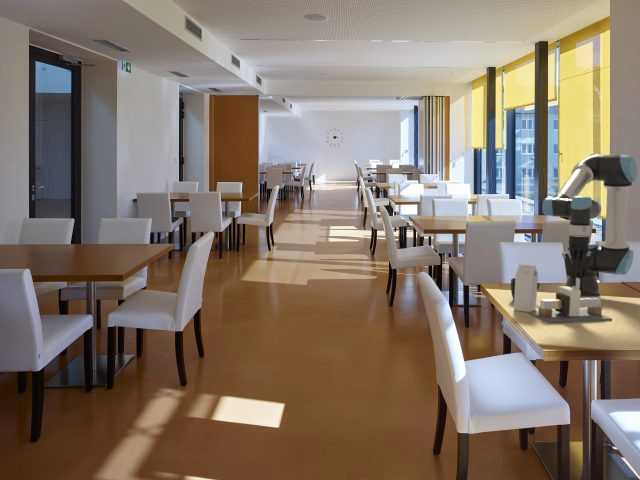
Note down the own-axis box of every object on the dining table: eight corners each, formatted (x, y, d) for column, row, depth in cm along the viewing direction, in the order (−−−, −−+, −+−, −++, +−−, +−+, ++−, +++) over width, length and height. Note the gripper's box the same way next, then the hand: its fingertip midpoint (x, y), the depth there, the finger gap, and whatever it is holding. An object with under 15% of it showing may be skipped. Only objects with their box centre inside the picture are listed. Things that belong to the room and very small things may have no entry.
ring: (558, 310, 278) (559, 292, 277) (568, 314, 271) (569, 296, 270) (555, 310, 277) (556, 292, 276) (565, 314, 270) (566, 296, 270)
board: (587, 310, 286) (587, 309, 286) (612, 320, 270) (612, 318, 270) (528, 313, 280) (529, 311, 280) (550, 323, 265) (550, 321, 264)
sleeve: (566, 310, 280) (567, 286, 278) (579, 316, 271) (580, 290, 270) (557, 311, 279) (558, 286, 277) (569, 316, 270) (571, 291, 269)
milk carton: (519, 307, 291) (521, 263, 288) (535, 309, 287) (538, 264, 284) (513, 310, 285) (515, 265, 283) (530, 312, 281) (533, 267, 279)
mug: (536, 304, 296) (537, 283, 295) (508, 301, 302) (509, 280, 300) (539, 301, 303) (541, 279, 302) (512, 298, 309) (513, 277, 307)
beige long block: (593, 312, 280) (594, 296, 279) (601, 315, 275) (602, 299, 275) (538, 314, 275) (539, 298, 274) (545, 317, 270) (546, 301, 269)
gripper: (570, 237, 266) (566, 296, 269) (599, 236, 269) (595, 295, 272) (559, 234, 273) (555, 292, 276) (588, 234, 276) (584, 291, 279)
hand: (575, 294), depth 274 cm, fingers closed
